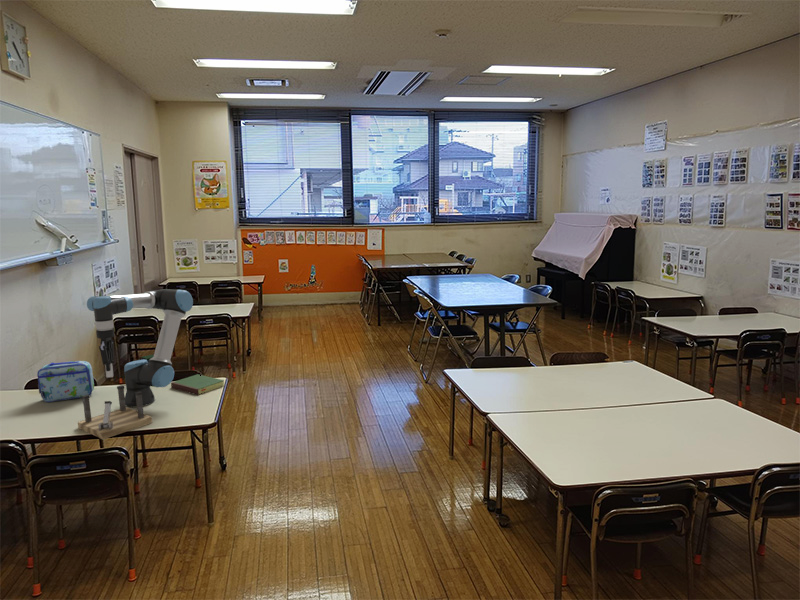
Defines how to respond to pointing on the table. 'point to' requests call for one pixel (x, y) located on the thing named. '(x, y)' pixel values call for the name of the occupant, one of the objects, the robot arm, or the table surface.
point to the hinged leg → (106, 415)
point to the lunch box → (65, 380)
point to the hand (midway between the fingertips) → (109, 376)
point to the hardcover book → (197, 384)
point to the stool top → (115, 417)
